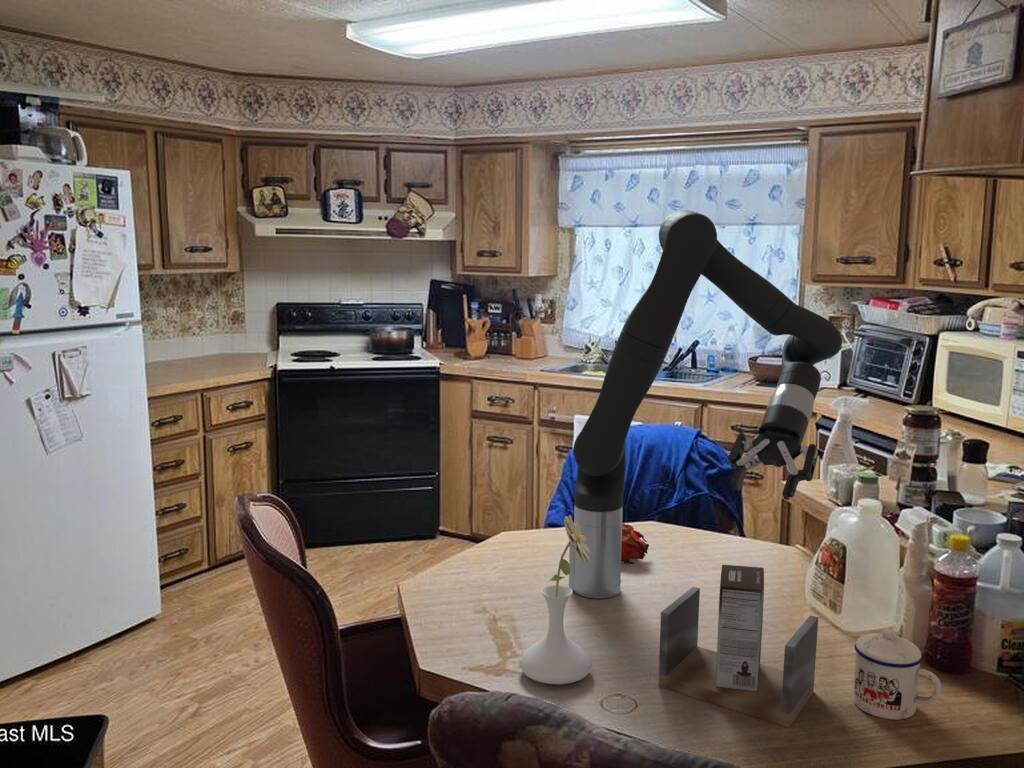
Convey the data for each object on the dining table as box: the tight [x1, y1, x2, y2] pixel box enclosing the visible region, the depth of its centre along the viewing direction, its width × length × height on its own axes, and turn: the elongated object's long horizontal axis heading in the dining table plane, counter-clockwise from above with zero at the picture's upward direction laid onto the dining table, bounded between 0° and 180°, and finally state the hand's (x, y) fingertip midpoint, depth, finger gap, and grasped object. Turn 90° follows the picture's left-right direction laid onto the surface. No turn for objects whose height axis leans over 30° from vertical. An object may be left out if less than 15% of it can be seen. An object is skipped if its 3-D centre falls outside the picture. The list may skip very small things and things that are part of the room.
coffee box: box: [716, 564, 765, 692], centre depth 131 cm, size 9×6×16 cm
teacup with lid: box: [852, 628, 942, 720], centre depth 126 cm, size 12×9×12 cm
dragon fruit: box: [621, 522, 650, 565], centre depth 185 cm, size 8×8×12 cm
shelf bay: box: [658, 586, 819, 728], centre depth 131 cm, size 20×12×12 cm, turn 55°
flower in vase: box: [519, 514, 593, 685], centre depth 135 cm, size 13×11×25 cm
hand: (760, 492), depth 146 cm, fingers open, 8 cm apart
